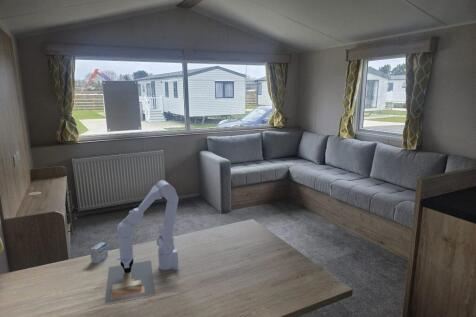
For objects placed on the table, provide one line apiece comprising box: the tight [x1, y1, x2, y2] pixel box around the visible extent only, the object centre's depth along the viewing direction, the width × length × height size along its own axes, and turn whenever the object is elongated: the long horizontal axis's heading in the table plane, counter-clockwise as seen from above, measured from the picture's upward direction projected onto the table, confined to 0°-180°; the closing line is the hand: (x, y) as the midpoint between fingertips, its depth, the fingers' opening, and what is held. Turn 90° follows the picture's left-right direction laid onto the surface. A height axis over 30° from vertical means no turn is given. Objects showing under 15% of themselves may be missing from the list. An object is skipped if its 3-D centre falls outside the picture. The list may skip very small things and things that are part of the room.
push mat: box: [104, 260, 156, 306], centre depth 143 cm, size 20×29×1 cm
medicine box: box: [89, 241, 109, 264], centre depth 160 cm, size 8×4×9 cm, turn 168°
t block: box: [112, 272, 142, 295], centre depth 139 cm, size 12×12×2 cm
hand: (128, 274), depth 145 cm, fingers closed
